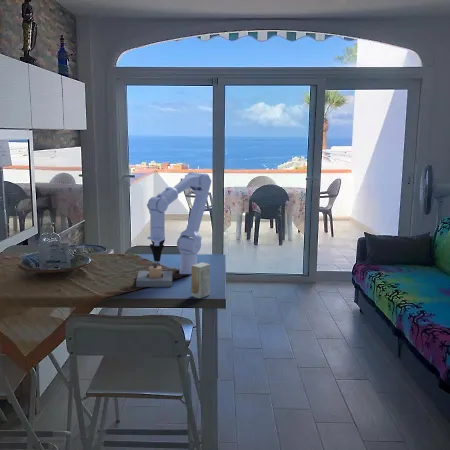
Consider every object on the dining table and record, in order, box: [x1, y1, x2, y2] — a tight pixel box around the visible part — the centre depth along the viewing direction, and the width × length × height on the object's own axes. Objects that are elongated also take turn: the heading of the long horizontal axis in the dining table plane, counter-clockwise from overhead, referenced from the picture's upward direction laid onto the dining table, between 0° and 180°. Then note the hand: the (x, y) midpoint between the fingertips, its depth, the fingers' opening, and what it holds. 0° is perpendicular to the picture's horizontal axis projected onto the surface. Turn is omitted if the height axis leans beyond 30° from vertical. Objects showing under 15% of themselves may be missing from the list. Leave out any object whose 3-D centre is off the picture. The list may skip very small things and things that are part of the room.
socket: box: [135, 270, 173, 288], centre depth 198 cm, size 14×14×2 cm
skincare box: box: [190, 261, 211, 299], centre depth 182 cm, size 6×4×12 cm
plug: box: [148, 262, 162, 278], centre depth 198 cm, size 4×5×8 cm
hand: (157, 259), depth 198 cm, fingers open, 7 cm apart
